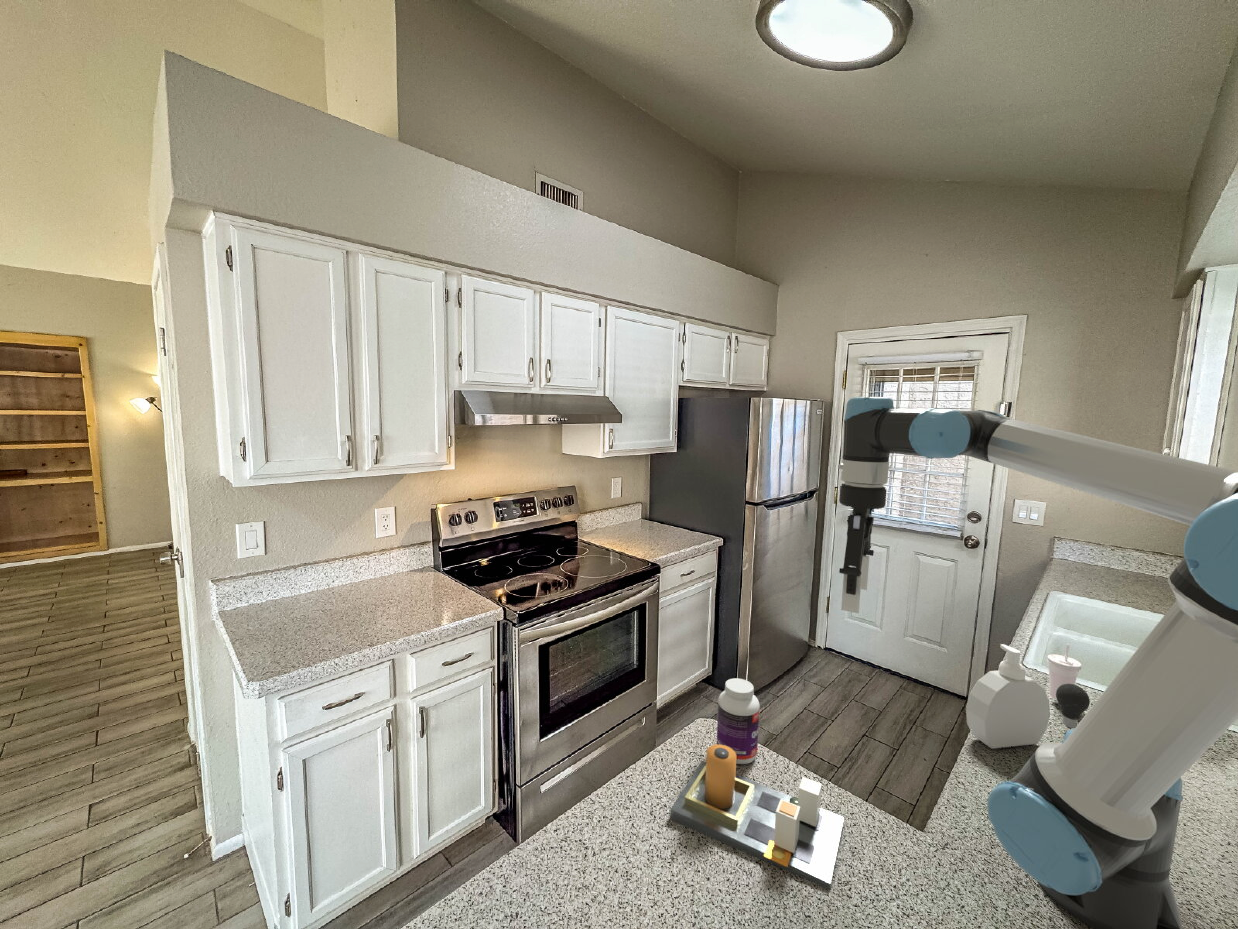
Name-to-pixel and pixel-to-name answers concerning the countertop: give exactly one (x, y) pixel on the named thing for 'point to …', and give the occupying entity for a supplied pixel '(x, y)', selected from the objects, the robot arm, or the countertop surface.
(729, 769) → the cap
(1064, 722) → the light bulb
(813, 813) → the breaker
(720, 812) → the breaker panel
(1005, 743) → the soap bottle
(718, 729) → the pill bottle
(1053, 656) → the smoothie
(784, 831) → the block
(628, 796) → the countertop surface
